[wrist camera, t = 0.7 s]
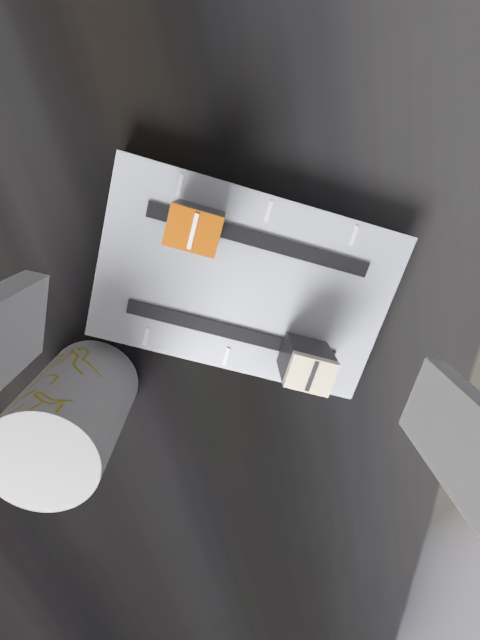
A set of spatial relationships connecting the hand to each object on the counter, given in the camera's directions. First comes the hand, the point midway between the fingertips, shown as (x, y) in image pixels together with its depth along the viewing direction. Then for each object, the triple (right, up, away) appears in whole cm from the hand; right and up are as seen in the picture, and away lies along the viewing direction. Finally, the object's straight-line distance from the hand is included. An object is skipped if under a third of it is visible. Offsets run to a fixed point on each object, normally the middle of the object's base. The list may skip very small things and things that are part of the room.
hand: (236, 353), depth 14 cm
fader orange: (-3, +8, +18) cm, 20 cm away
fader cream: (+5, -2, +21) cm, 22 cm away
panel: (+1, +5, +22) cm, 23 cm away
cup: (-14, -4, +25) cm, 29 cm away
